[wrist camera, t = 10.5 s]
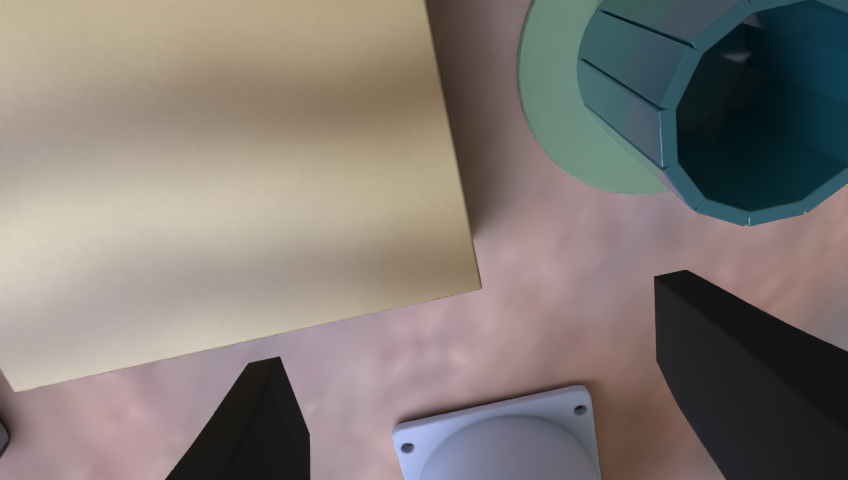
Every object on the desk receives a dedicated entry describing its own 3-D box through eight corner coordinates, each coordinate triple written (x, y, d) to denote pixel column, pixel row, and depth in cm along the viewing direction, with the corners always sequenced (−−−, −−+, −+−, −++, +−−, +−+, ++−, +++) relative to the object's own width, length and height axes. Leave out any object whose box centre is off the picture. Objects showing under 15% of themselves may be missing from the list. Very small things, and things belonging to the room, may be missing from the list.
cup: (747, 121, 22) (887, 196, 16) (585, 158, 22) (665, 245, 16) (749, -55, 19) (915, -45, 13) (567, -13, 19) (653, 16, 14)
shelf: (468, 243, 23) (491, 316, 19) (56, 336, 24) (-11, 427, 19) (373, -229, 17) (375, -278, 13) (-183, -95, 17) (-360, -101, 13)
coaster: (792, 158, 23) (798, 162, 22) (536, 215, 23) (539, 220, 23) (804, -136, 19) (813, -137, 18) (495, -63, 19) (497, -63, 19)
